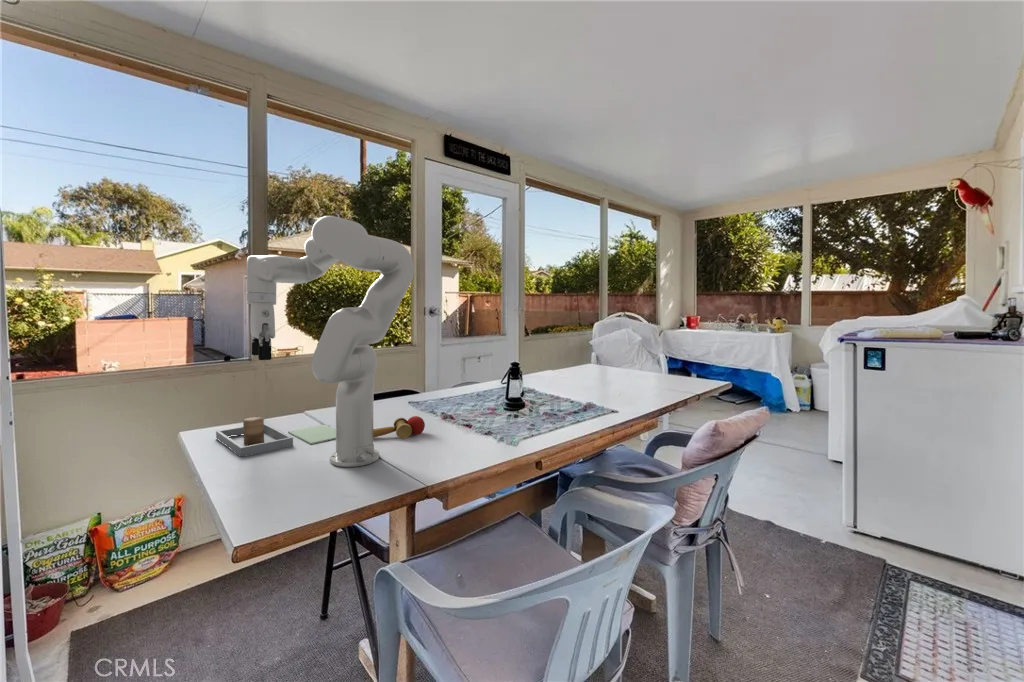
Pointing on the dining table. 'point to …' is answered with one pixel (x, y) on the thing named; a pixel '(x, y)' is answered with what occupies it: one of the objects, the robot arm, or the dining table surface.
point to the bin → (282, 442)
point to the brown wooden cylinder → (253, 430)
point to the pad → (315, 434)
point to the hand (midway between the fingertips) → (261, 357)
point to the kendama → (402, 427)
